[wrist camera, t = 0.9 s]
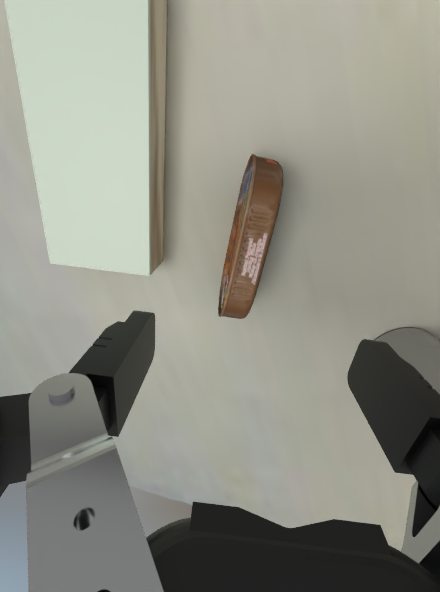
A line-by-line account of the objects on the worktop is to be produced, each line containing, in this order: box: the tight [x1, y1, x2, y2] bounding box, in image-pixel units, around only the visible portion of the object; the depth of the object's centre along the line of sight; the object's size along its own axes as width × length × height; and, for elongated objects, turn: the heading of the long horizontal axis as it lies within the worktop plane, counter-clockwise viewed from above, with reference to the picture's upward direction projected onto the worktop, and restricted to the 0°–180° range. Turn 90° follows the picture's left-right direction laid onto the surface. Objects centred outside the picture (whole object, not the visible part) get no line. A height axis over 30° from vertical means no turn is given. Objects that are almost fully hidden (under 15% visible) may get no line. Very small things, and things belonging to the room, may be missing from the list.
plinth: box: [4, 0, 167, 276], centre depth 24 cm, size 10×22×5 cm, turn 174°
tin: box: [218, 154, 283, 319], centre depth 25 cm, size 15×3×8 cm, turn 169°
